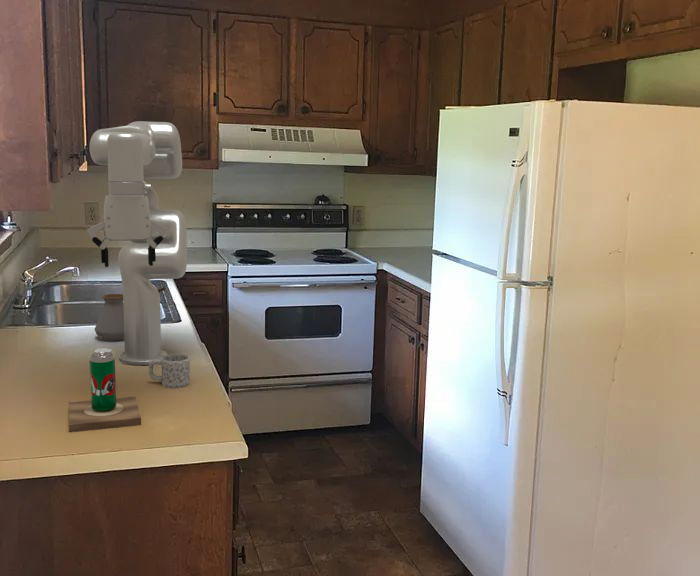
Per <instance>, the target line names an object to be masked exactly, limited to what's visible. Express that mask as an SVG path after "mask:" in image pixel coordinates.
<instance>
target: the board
mask: <svg viewBox="0 0 700 576" xmlns="http://www.w3.org/2000/svg"><path fill="white" fill-rule="evenodd" d="M139 425H142V417H141V413H140V408H139V404H138V402H137V398H136V396H126V397H125V396H124V397H116V407H115V408H114V409H113V410H111V411H107V412H97V411H95V410H93V409H92V406H91V400H79V401H71V402H68V426H69V427H68V430H69V431H68V432H69V433H74V432H73V431H75V432H81V431H82V432H84V431H93V430H103V428H104V429H113V428H121V427H122V428H123V427H130V426H132V427H133V426H139Z"/></svg>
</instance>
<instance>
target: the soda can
mask: <svg viewBox="0 0 700 576" xmlns="http://www.w3.org/2000/svg"><path fill="white" fill-rule="evenodd" d="M113 354H114V353H113V352H112V353H110V352H98V353H92V354H90V355H91V356H90V359H89V375H90V377H89V380H90V399H91V400H90V401H91V406H92V409H93V410H95V411H97V412H107V411H111V410H113V409H114V408H115V407H116V398H117V385H116V384H117V380H116V379H117V378H116V359H115V356H114V355H113Z"/></svg>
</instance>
